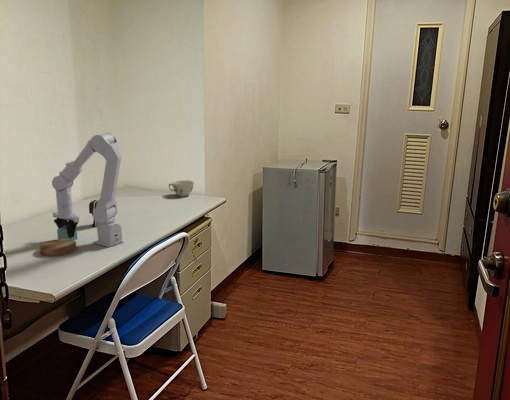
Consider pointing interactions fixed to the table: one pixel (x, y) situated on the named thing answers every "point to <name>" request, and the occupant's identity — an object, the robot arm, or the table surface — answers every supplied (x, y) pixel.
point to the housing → (65, 233)
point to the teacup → (182, 187)
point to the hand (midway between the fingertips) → (67, 236)
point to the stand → (58, 247)
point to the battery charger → (91, 208)
